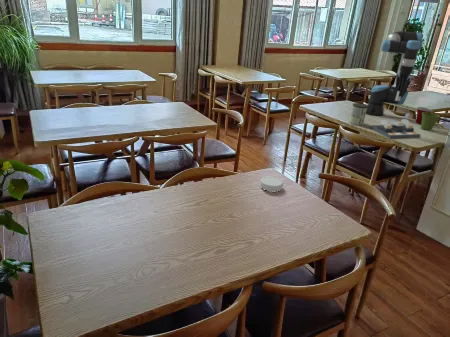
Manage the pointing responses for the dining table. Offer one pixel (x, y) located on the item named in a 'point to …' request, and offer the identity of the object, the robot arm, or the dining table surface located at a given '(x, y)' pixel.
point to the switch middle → (396, 124)
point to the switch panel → (374, 127)
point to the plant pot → (428, 120)
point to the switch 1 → (385, 124)
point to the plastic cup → (419, 114)
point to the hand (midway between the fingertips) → (397, 100)
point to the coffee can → (358, 114)
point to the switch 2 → (406, 123)
